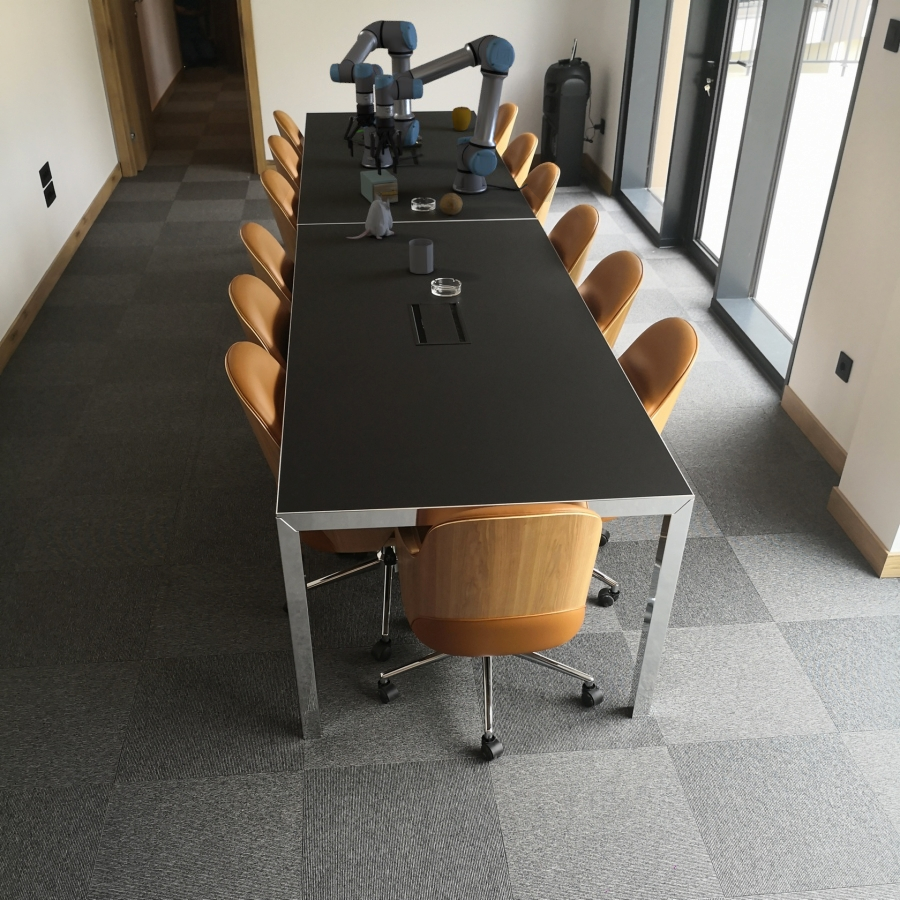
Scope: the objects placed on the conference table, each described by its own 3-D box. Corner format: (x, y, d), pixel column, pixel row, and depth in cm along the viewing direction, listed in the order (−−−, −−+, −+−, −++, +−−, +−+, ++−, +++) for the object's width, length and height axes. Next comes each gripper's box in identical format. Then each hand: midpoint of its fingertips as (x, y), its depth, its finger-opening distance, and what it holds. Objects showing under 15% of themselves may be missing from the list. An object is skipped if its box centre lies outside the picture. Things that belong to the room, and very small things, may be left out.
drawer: (401, 204, 371) (401, 186, 366) (378, 206, 367) (378, 188, 363) (386, 190, 387) (386, 173, 383) (364, 193, 384) (363, 175, 380)
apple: (471, 132, 486) (471, 108, 479) (451, 132, 486) (451, 108, 479) (470, 128, 495) (471, 104, 488) (452, 128, 495) (452, 104, 488)
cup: (409, 265, 311) (408, 238, 306) (432, 265, 312) (431, 238, 307) (410, 274, 304) (409, 246, 299) (433, 273, 305) (433, 246, 299)
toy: (399, 234, 340) (398, 196, 332) (354, 249, 326) (352, 209, 317) (384, 229, 345) (382, 191, 337) (338, 243, 331) (336, 204, 323)
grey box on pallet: (397, 201, 377) (397, 179, 372) (372, 204, 373) (371, 181, 368) (385, 191, 391) (384, 169, 385) (361, 193, 387) (360, 171, 382)
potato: (461, 208, 368) (461, 189, 364) (463, 218, 357) (464, 199, 352) (438, 208, 368) (438, 190, 364) (440, 219, 356) (440, 199, 352)
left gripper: (337, 106, 359) (340, 159, 371) (396, 103, 365) (397, 155, 376) (334, 103, 365) (337, 154, 377) (392, 100, 371) (394, 151, 382)
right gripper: (365, 119, 346) (368, 178, 359) (410, 116, 352) (411, 173, 364) (359, 116, 352) (362, 173, 365) (404, 112, 358) (405, 169, 370)
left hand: (367, 155), depth 376 cm, fingers open, 13 cm apart
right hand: (387, 173), depth 364 cm, fingers open, 6 cm apart
